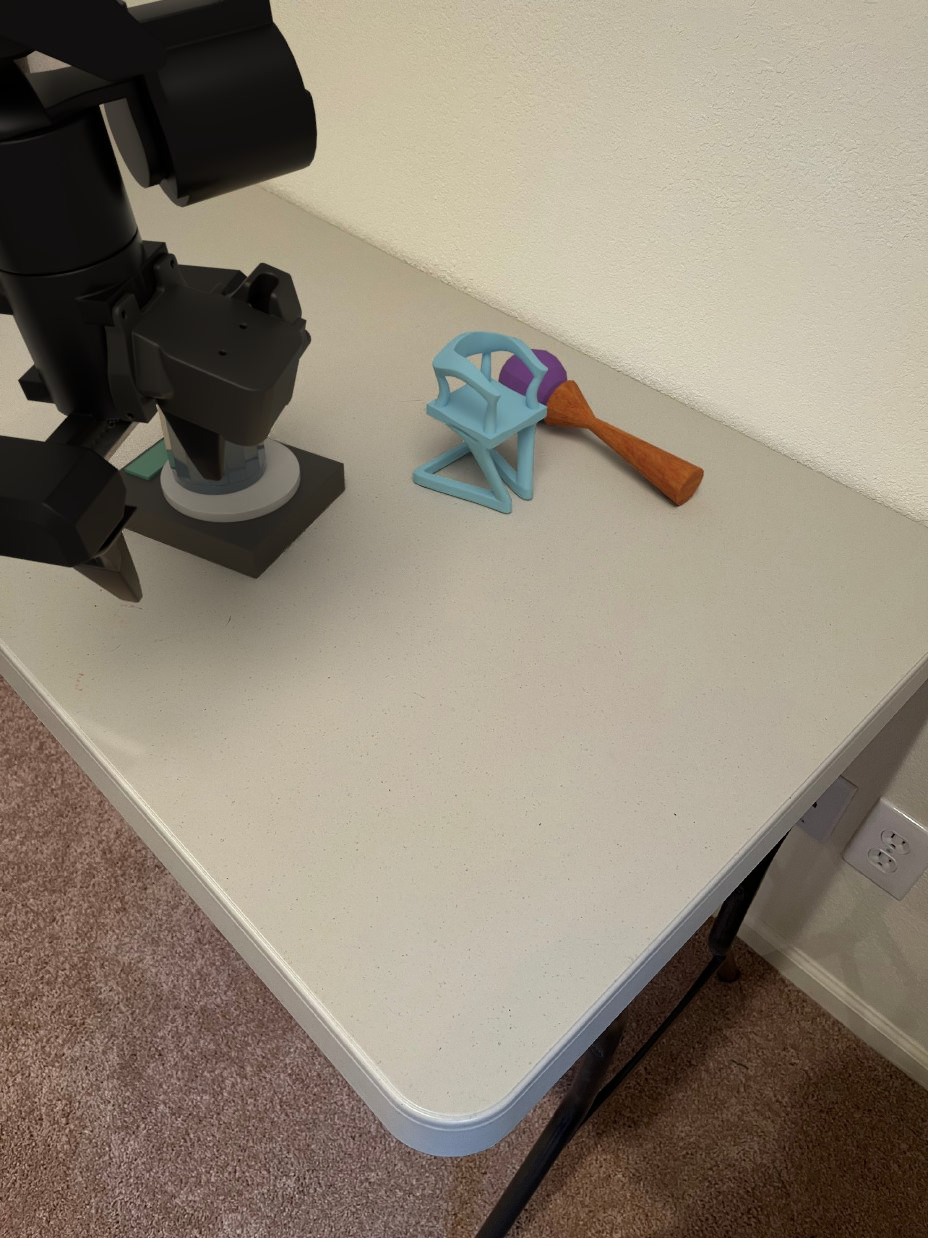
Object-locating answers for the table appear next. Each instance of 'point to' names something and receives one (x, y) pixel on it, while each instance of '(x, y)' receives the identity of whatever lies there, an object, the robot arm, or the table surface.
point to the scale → (233, 506)
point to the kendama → (601, 426)
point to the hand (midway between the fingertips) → (175, 535)
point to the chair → (485, 419)
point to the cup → (238, 468)
